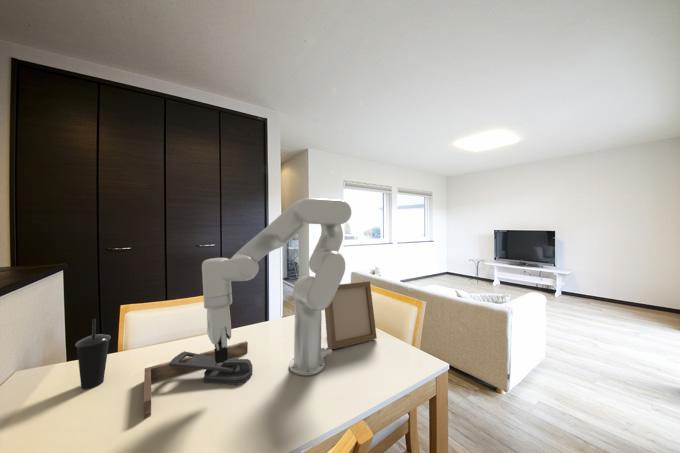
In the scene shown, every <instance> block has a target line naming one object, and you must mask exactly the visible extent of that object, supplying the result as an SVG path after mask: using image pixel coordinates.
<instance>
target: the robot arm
mask: <svg viewBox="0 0 680 453" xmlns="http://www.w3.org/2000/svg"><path fill="white" fill-rule="evenodd" d="M351 217H352V208H351V206H350V205H349V203H348V202H347V201H345V200H342V199H332V198H331V199H330V198H329V199H328V198H316V197H315V198H314V197H308V198H302V199H298V200H296V201H295V202H292V203H291V204H290V205H289V206H288V207H287V208H286V209H284V211H282V213H281V214H280V215H278V217H276V218H275V219H274V220H273V221H272V222H271V223H270V224H268V226H266V227H264V228H263V229H262V230H261V231H260V232H259V233H258V234H256V235H255V236H254V237H253V238H251V239H250V240H249V241H247V243H245V245H243V246H242V247H241V248H240V249H238V250H237V252H235V253H234V254H233V255H232V256H231V258H227V257H215V258H214V257H213V258H212V257H211V258H207V259H205V260H203V262H202V263H201V272H202V273H201V274H202V291H203V293H202V294H203V308H204V309H205V310H206V334H207V337H208V340H209V341H210V342H211V344H213V345H214V348H213V350H214V351H215V362H216V363H217V364H222V363H221V362H224V361H226V360H228V359H229V358H228V351H227V346H228V340H230V339H232V322H231V311H230V306H231V305H232V304H233V294H232V293H233V292H232V282H245V281H246V282H247V281H250V280H253V279H254V278H255V277H256V276H257V275H258V273H259V271H260V270H259V269H260V268H259V267H260V266H259V262H260V261H261V260H262V259H263V258H265V256H267V255H268V254H270V253H271V252H273V251H275V250H277V249H280V248H282V247H284V246H286V245H287V244H288V243H289V242H290V241H291V240H292V239H293V238H294V237H295V236H296V235H297V234H298V233H299V232H300V231H301V230H302V229H303V228H305V226H306V225H310V224H311V225H320V227H321V228H320V229H321V230H320V237H319V239H318V242H317V243H316V246H315V247H314V250H313V251H312V254H311V256H310V257H309V261H308V267H309V270H310V271H311V272H312V273H314V274H315V275H314V276H311V275H304V276H300V277H299V278H298V279H296V281H295V283H294V285H293V290H292V297H293V298H292V299H293V304H294V305H293V307H294V331H293V333H294V335H293V336H294V337H293V338H294V340H293V347H294V348H293V358H291V360H290V361H289V370H290V372H292V373H293V374H295V375H299V376H306V377H307V376H313V375H316V374H318V373H321V372H322V371H323V370H324V369H325V367H326V361H325V358H326V356H329V355H332V354H333V349H330V348H327V349H326V348H325V347H322V317H323V316H322V312H323V311H325V309H326V308H327V307H328V306H329V305H330V304H331V302H332V300H333V298H334V296H335V294H336V292H337V289H338V287H339V285H340V284H341V282H342V280H343V277H344V274H345V272H346V261H345V257H344V256H343V255H342V254H341V253H340V249H341V245H342V243H343V240H344V232H343V228H342V225H343V224H345V223H347V222H348V221H349V220H350V219H351ZM217 364H216V365H217Z"/></svg>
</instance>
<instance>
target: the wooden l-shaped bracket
mask: <svg viewBox="0 0 680 453" xmlns="http://www.w3.org/2000/svg"><path fill="white" fill-rule="evenodd" d="M248 345H249V344H248V341H242V342H238V343H234V344H231V345H227V351H228V359H233V358H235V357H239V356H241V355H245V354H248V352H249V350H248V348H249V347H248ZM199 354H201V355H206V356H211V357H215V351H214V349H213V350H209V351H205V352H201V353H199ZM191 358H192V357H189V356H186V357H185V358H183V359H182V360H181V361H180V362H178V363H187V362H188V361H189V360H190V359H191ZM169 363H170V361H167V362H164V363H160V364H156V365H152V366H149V367H145V368H144V382H143V384H144V386H143V387H144V388H143V418H144V419H145V418H147V417H150V416H152V382H154V381H157V380H162V379H165V378H167V377H170V376H174V375H178V374H180V373H184V372H189V371H190V370H191V371H192V370H194V368H182V367H171V366H169Z"/></svg>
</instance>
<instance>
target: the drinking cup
mask: <svg viewBox="0 0 680 453" xmlns="http://www.w3.org/2000/svg"><path fill="white" fill-rule="evenodd" d="M96 320H97V319H96V318H93V319H92V330H91V332H92V333H91V334H92V335H88V336H86V337H84V338H82V339H80V340H78V341H77V342H76V343H75V347H76V349H77V352H76V353H77V362H78V370H79V377H80V387H81V389H82V390H90V389H93V388H95V387H98V386H100V385H102V384H103V383H104V379H105V375H106V374H105V373H106V365H107V359H108V351H109V346H110V345H109V343H110V340H111V338H112V337H111V335H110V334H103V333H100V334H96V328H97V327H96V326H97V325H96V323H97V322H96Z"/></svg>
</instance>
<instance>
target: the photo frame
mask: <svg viewBox="0 0 680 453" xmlns="http://www.w3.org/2000/svg"><path fill="white" fill-rule="evenodd" d="M324 316H325V317H324V318H325V330H326V341H327V342H326V343H327V349H331V350H336V349H339V348H343V347H347V346H351V345H356V344H361V343H364V342H368V341H372V340H378V339H377V336H378V335H377V328H376V323H375V322H376V321H375V313H374V304H373V294H372V287H371V280H370V281H358V282H349V283H342V284H341V283H340V285H339V287H338V289H337V292H336V294H335V296H334V298H333V300H332V302H331V304H330V305H329V306H328V307H327V308H326V309H324Z"/></svg>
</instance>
